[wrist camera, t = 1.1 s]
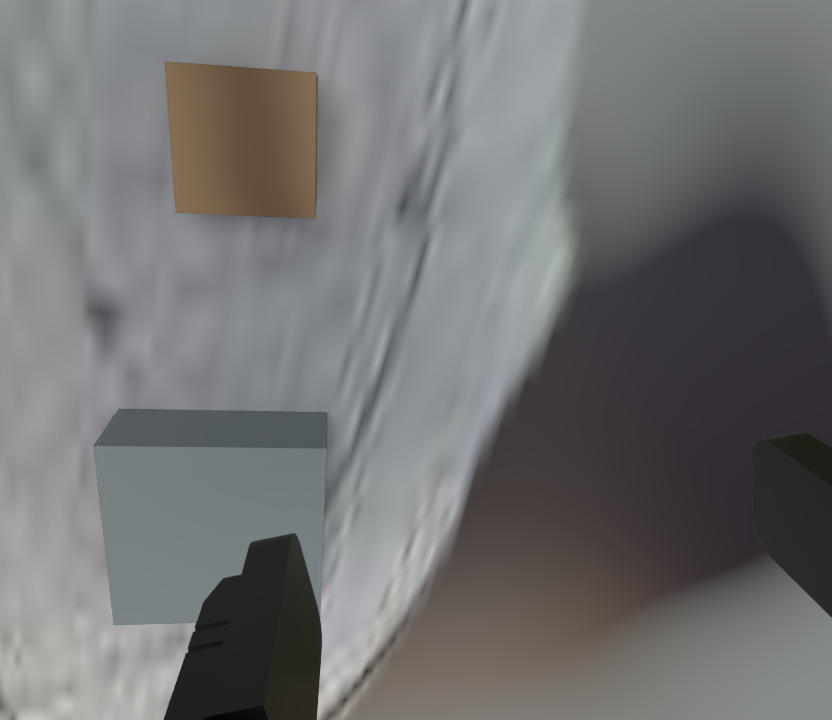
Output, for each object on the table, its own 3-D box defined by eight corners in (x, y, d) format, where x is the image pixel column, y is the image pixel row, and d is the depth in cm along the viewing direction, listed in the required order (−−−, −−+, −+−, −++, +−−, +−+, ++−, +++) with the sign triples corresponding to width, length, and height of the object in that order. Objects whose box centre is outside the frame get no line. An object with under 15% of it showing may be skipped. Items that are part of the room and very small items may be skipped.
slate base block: (136, 569, 35) (113, 625, 31) (121, 405, 31) (93, 445, 28) (320, 567, 36) (320, 619, 33) (326, 409, 33) (326, 448, 29)
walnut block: (200, 193, 28) (175, 212, 23) (193, 67, 26) (164, 61, 21) (316, 199, 29) (314, 218, 24) (317, 77, 27) (315, 72, 22)
